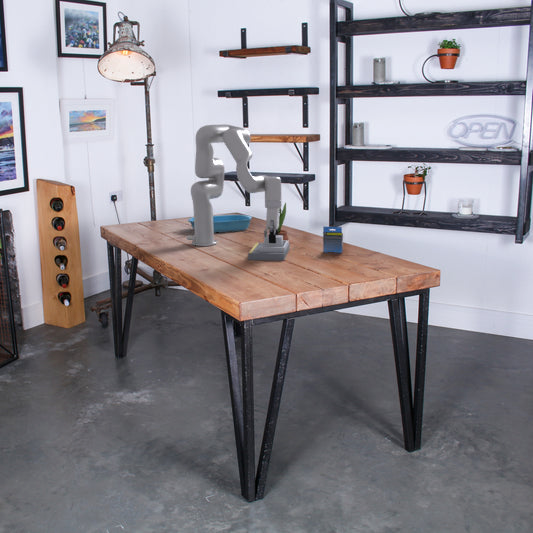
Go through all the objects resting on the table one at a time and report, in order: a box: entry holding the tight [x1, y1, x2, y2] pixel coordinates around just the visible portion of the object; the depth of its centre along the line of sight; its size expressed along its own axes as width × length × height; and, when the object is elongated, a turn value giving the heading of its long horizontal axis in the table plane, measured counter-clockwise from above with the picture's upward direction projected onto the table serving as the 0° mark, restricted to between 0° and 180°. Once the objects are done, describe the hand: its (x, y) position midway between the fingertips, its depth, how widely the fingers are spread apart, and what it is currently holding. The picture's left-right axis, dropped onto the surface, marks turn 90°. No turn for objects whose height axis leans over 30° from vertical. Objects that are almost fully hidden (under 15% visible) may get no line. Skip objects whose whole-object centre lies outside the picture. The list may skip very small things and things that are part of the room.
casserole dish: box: [187, 214, 253, 234], centre depth 361 cm, size 37×22×7 cm, turn 112°
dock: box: [247, 240, 290, 261], centre depth 296 cm, size 16×24×5 cm, turn 172°
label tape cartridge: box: [322, 226, 344, 254], centre depth 298 cm, size 9×4×12 cm, turn 74°
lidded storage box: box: [263, 228, 283, 247], centre depth 295 cm, size 8×5×8 cm, turn 82°
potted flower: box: [277, 202, 289, 241], centre depth 321 cm, size 12×10×25 cm
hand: (273, 241), depth 295 cm, fingers open, 9 cm apart
